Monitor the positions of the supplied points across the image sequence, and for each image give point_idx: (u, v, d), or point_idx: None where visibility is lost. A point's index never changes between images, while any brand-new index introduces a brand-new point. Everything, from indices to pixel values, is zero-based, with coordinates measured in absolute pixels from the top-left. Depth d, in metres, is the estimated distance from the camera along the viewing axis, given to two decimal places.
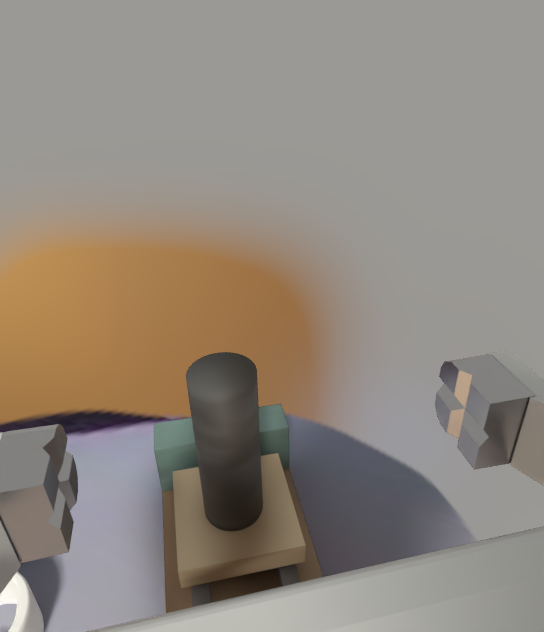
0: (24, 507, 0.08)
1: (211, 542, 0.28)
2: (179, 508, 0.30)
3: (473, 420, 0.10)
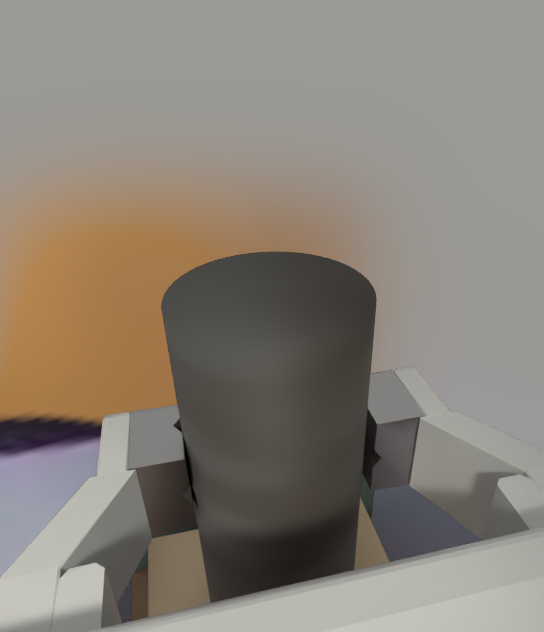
0: (164, 481, 0.09)
1: None
2: None
3: None
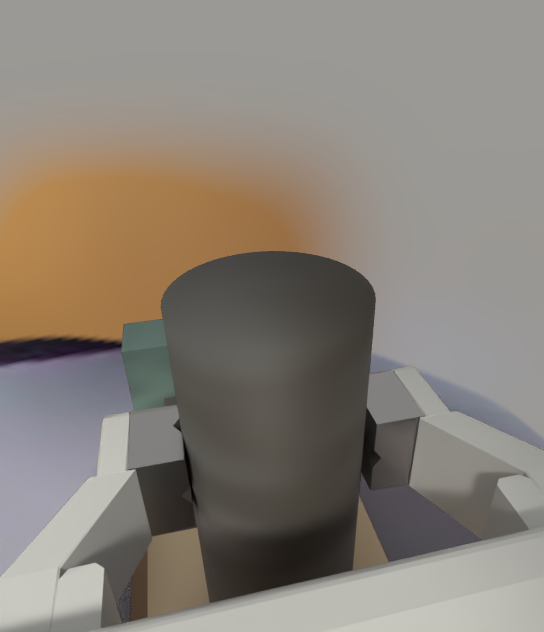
0: (164, 481, 0.09)
1: None
2: None
3: None
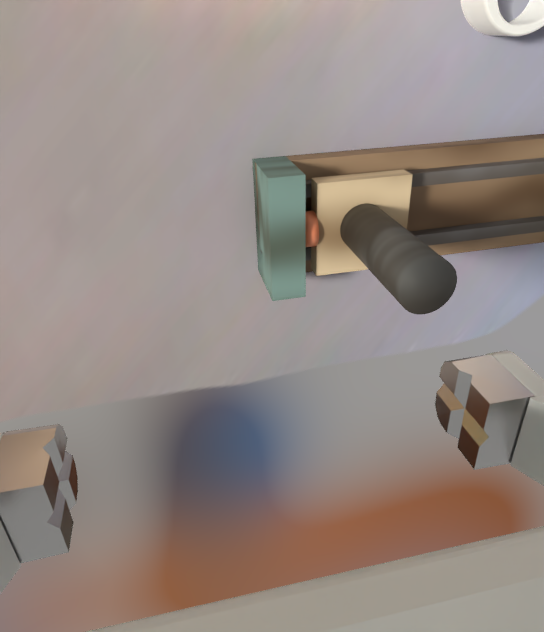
0: (24, 507, 0.08)
1: (335, 208, 0.36)
2: (372, 182, 0.35)
3: (473, 420, 0.10)
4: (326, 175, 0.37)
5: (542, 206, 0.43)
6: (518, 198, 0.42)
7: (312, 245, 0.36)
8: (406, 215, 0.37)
